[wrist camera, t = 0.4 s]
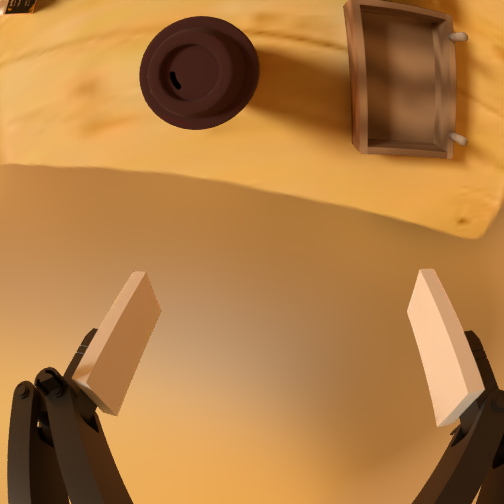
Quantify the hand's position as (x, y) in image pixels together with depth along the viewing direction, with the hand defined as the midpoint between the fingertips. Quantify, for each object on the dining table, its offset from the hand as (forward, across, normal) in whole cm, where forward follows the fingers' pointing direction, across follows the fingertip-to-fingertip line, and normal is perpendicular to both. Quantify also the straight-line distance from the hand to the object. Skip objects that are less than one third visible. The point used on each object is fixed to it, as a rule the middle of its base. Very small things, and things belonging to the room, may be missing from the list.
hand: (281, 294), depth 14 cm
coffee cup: (+27, -6, +10) cm, 30 cm away
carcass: (+27, +14, +9) cm, 32 cm away
